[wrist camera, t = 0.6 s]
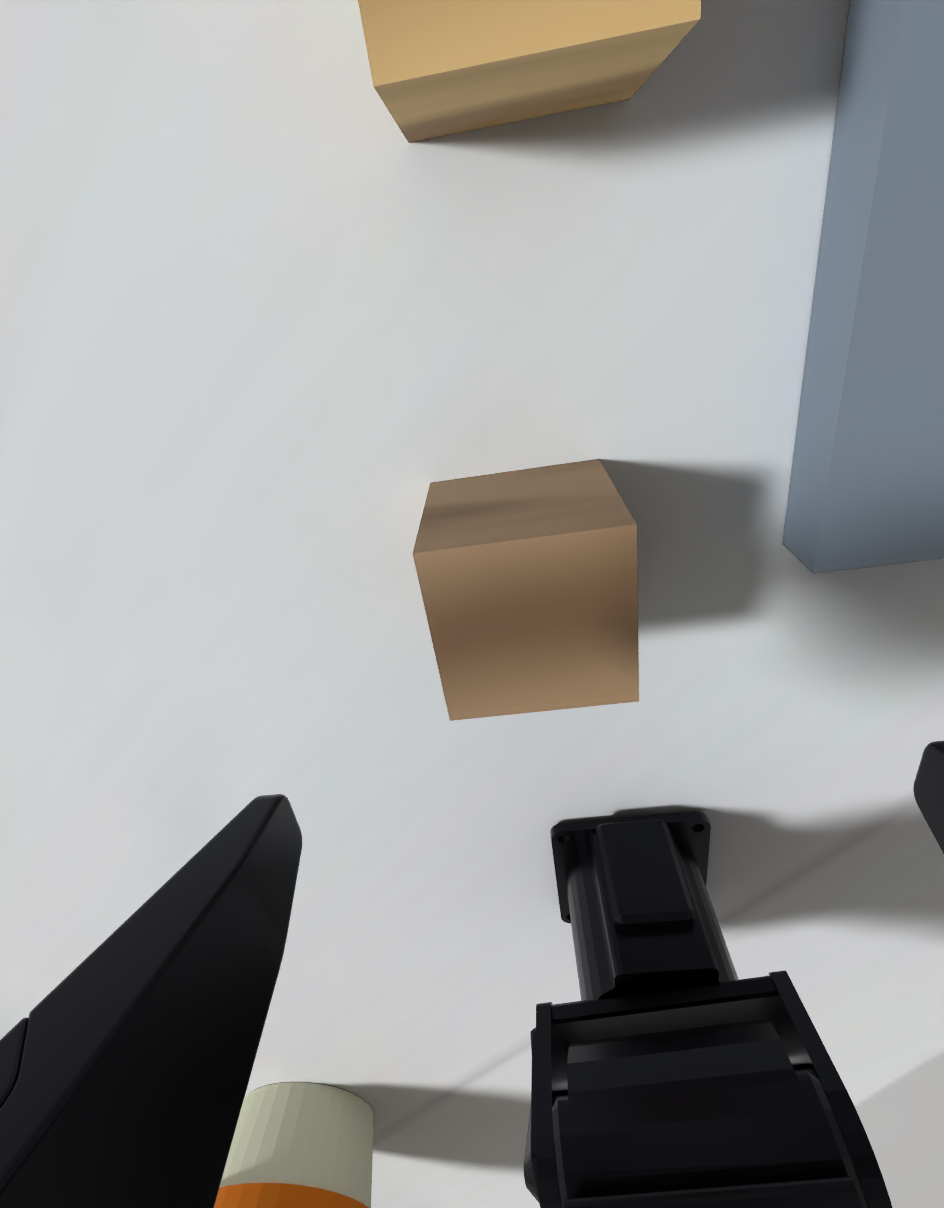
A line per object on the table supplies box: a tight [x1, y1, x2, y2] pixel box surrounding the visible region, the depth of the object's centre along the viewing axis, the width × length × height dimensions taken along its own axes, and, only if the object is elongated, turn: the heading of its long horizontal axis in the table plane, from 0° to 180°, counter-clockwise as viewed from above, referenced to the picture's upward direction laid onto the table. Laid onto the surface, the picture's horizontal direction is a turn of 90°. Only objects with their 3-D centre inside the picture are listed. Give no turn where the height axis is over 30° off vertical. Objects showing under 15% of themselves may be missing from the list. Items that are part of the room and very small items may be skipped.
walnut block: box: [413, 459, 639, 721], centre depth 16 cm, size 5×5×5 cm
